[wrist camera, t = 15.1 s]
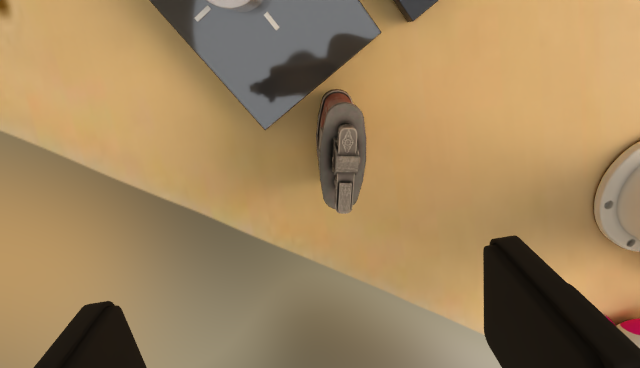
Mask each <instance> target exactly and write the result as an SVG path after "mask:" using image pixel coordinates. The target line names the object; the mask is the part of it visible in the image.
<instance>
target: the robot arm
mask: <svg viewBox="0 0 640 368" xmlns="http://www.w3.org/2000/svg"><path fill="white" fill-rule="evenodd" d="M594 214H595V220H596V223H597V225H598V227H599V229H600V230H601V232H602V233H603V234H604V235H605V237H607V238H608V239H609V240H611V241H612V242H613V243H615V244H617V245H618V246H620V247H622V248H624V249H628V250H631V251H638V252H640V141H639V142H637V143H636V144H634V145H632V146H631V147H629V148H628V149H627V150H626V151H625V152H623V153H622V154H621V155H620V156H619V157H618V158H617V159H616V160H615V161H614V162H613V163H612V165H611V166H610V167H609V168H608V170H607V171H606V173H605V174H604V176H603V177H602V180H601V182H600V184H599V186H598V188H597V192H596V196H595V200H594ZM483 255H484V333H485V337H486V340H487V343H488V345H489V346H490V348H491V350H492V352H493V353H494V355H495V357H496V358H497V360H498V361H499V363H500V365H501V367H502V368H640V348H639V347H638V346H637V345H636V344H635V343H633V342H632V341H631V340H630V339H629V338H628V337H627V336H626V335H625V334H624V333H623V332H622V331H621V330H620V329H618V328H617V327H616V326H615V325H614V324H613V323H612V322H611V321H610V320H609V319H608V318H607V317H606V316H605V315H603V314H602V313H601V312H600V311H599V310H598V309H597V308H596V307H595V306H594V305H593V304H592V303H591V302H589V301H588V300H587V299H586V298H585V297H584V296H583V295H582V294H581V293H580V292H579V291H578V290H577V289H576V288H574V287H573V286H572V285H570V284H568V283H566V282H565V281H564V280H563V279H562V278H561V277H560V276H559V275H558V274H557V273H556V272H555V271H554V270H553V269H552V268H551V267H549V266H548V265H547V264H546V263H545V262H544V261H543V260H542V259H541V258H540V257H539V256H538V255H537V254H536V253H535V252H534V251H533V250H531V249H530V248H529V247H528V246H527V245H526V244H525V243H524V242H523V241H522V240H521V239H520V238H519V237H517V236H508V237H502V238H496V239H492V240H491V241H490V245H489V246H485V247H484V252H483ZM34 368H146V365H145V363H144V361H143V358H142V356H141V354H140V351H139V349H138V347H137V344H136V342H135V340H134V337H133V335H132V333H131V330H130V328H129V326H128V323H127V321H126V319H125V316H124V314H123V312H122V309H121V308H120V307H119V306H115V305H114V304H113V303H112V302H110V301H106V302H100V303H93V304H88V305H85V306H84V307H82V308H81V310H80V311H79V312H78V313H77V314H76V316H75V317H74V318H73V320H72V321H71V322H70V323H69V324H68V326H67V327H66V328H65V330H64V331H63V332H62V333H61V334H60V336H59V337H58V338H57V339H56V341H55V342H54V343H53V344H52V346H51V347H50V348H49V349H48V351H47V352H46V353H45V354H44V356H43V357H42V358H41V360H40V361H39V362H38V363H37V364H36V365H35V367H34Z"/></svg>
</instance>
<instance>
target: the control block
mask: <svg viewBox="0 0 640 368" xmlns="http://www.w3.org/2000/svg"><path fill="white" fill-rule="evenodd" d="M393 1H394V2H395V4H396V5H397V7H398V8H399V10H400V11H401V13H402V14H403V16H404V17H405V19H406V20H407V22H411V21H414V20H415V19H417V18H418V17H419V16H420V15H421V14H423V13H424V12H425V11H426V10H427V9H429V8H430V7H431V6H432V5H433V4H435V3H436V2H437V1H438V0H393Z"/></svg>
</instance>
